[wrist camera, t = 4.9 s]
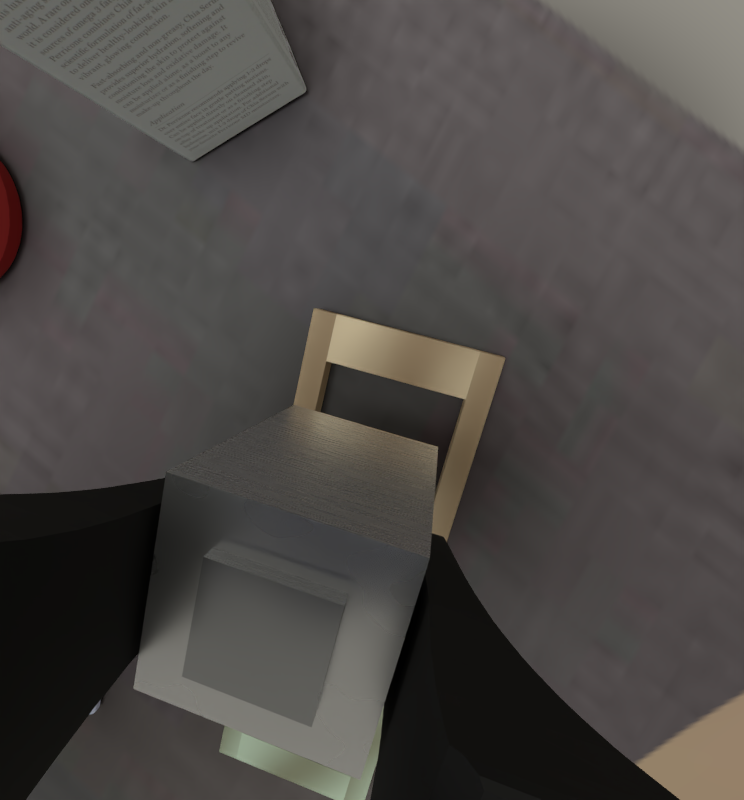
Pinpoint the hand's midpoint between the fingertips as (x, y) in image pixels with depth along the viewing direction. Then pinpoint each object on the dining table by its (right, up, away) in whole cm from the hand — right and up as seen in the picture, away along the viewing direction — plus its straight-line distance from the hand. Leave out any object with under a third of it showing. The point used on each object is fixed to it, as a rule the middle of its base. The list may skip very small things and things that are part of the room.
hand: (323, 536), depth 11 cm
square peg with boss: (0, +1, +2) cm, 3 cm away
